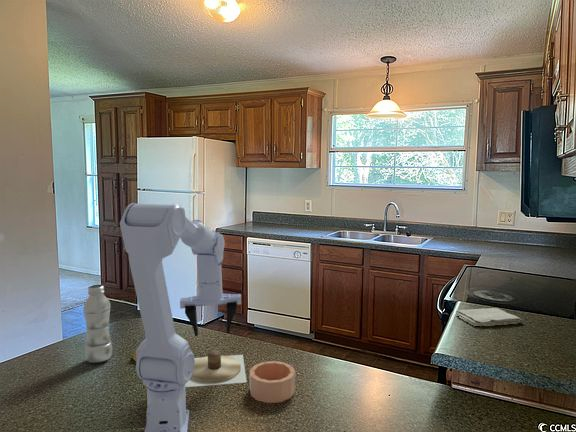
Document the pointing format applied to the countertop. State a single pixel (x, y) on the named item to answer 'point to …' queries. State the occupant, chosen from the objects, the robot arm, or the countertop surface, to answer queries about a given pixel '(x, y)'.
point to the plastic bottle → (97, 325)
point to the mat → (237, 379)
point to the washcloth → (487, 315)
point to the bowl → (272, 381)
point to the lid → (215, 368)
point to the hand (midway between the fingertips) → (212, 332)
